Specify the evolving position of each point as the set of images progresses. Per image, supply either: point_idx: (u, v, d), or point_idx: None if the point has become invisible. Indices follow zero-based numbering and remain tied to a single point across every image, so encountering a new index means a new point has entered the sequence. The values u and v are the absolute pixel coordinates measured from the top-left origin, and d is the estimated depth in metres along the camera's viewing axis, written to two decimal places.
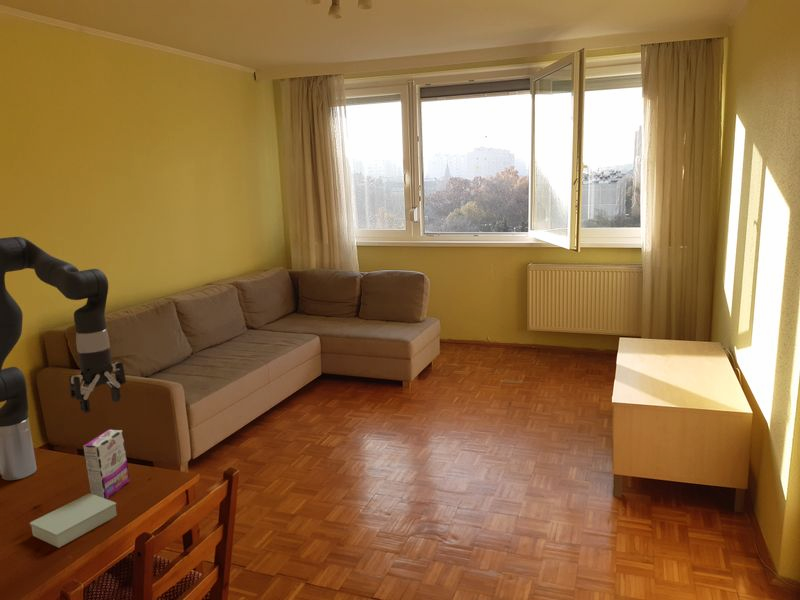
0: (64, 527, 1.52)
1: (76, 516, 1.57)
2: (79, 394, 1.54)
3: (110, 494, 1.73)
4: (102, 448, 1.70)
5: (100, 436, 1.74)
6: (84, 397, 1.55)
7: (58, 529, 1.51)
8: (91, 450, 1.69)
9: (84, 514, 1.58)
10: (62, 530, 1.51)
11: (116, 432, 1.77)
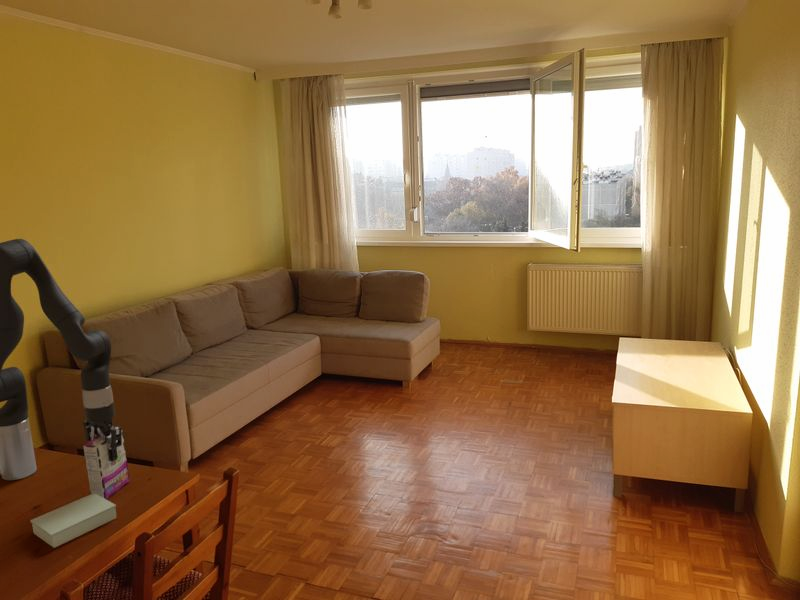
0: (60, 527, 1.52)
1: (75, 516, 1.57)
2: None
3: (110, 494, 1.73)
4: (102, 448, 1.70)
5: None
6: None
7: (54, 529, 1.51)
8: (91, 449, 1.68)
9: (83, 515, 1.57)
10: (58, 530, 1.51)
11: None
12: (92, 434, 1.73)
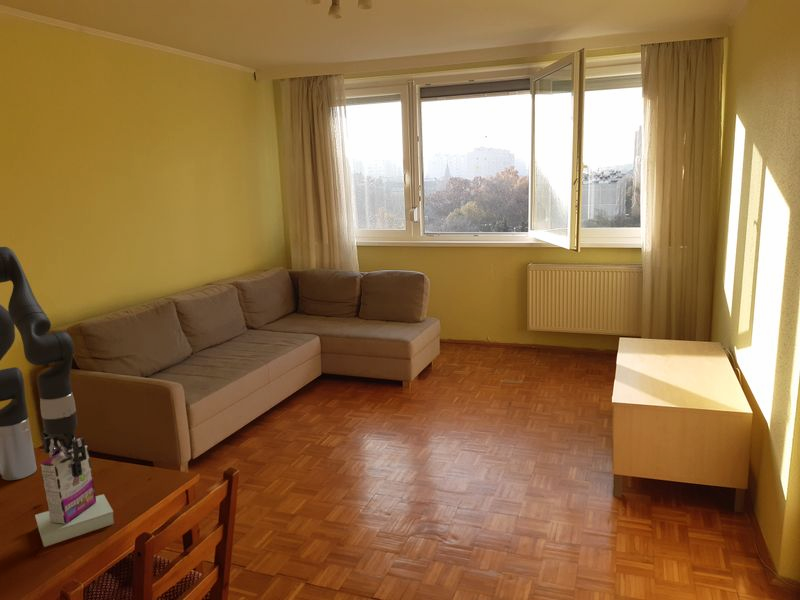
0: (53, 528, 1.52)
1: None
2: None
3: (72, 517, 1.55)
4: (61, 466, 1.52)
5: (61, 452, 1.57)
6: None
7: (47, 529, 1.52)
8: (48, 468, 1.51)
9: (79, 517, 1.56)
10: (49, 531, 1.51)
11: None
12: (51, 447, 1.55)
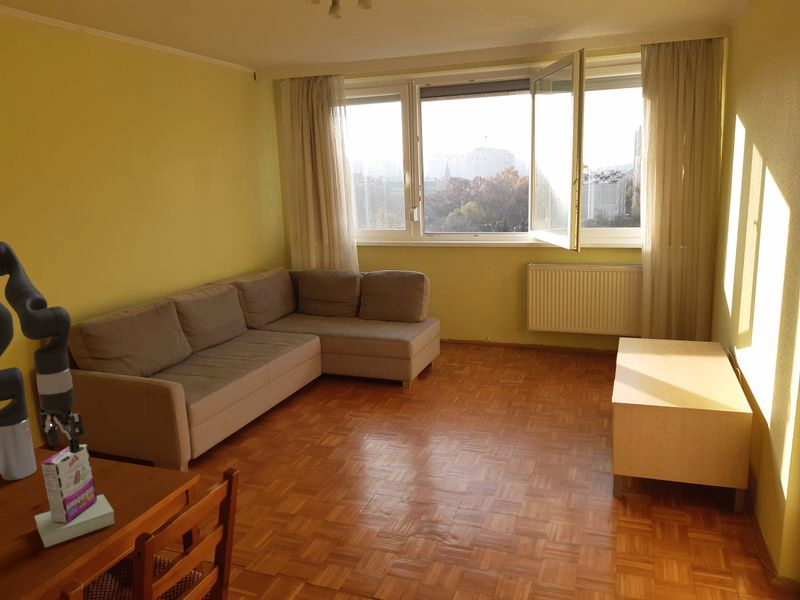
0: (54, 528, 1.52)
1: None
2: None
3: (73, 516, 1.56)
4: (62, 465, 1.52)
5: (61, 452, 1.57)
6: None
7: (48, 529, 1.52)
8: (49, 467, 1.51)
9: (80, 518, 1.56)
10: (50, 531, 1.51)
11: (80, 447, 1.59)
12: (47, 423, 1.53)
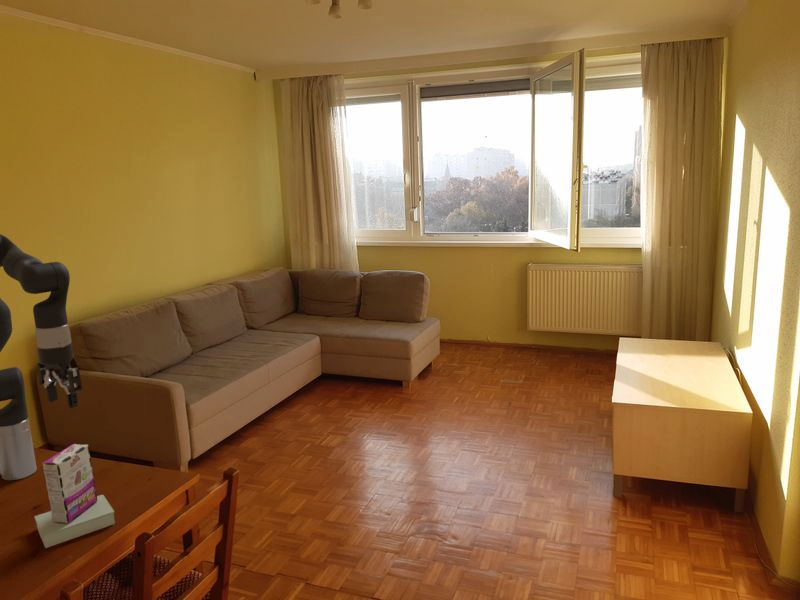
0: (54, 528, 1.52)
1: None
2: None
3: (74, 516, 1.55)
4: (63, 465, 1.52)
5: (62, 452, 1.57)
6: None
7: (48, 529, 1.51)
8: (51, 467, 1.51)
9: (80, 518, 1.56)
10: (50, 531, 1.50)
11: (81, 447, 1.59)
12: (46, 378, 1.55)
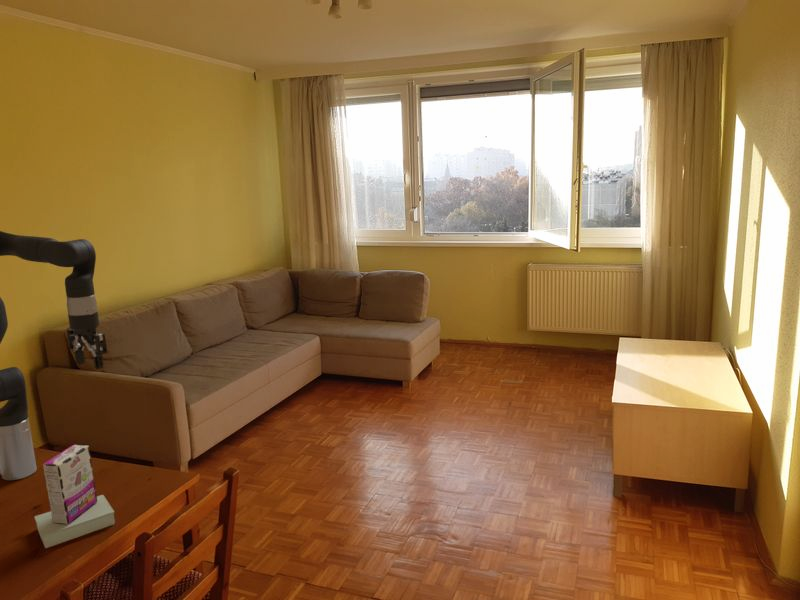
0: (54, 529, 1.52)
1: None
2: None
3: (74, 517, 1.55)
4: (64, 466, 1.52)
5: (63, 453, 1.56)
6: None
7: (48, 530, 1.51)
8: (51, 468, 1.50)
9: (80, 518, 1.56)
10: (50, 532, 1.50)
11: (81, 448, 1.59)
12: (75, 342, 1.74)
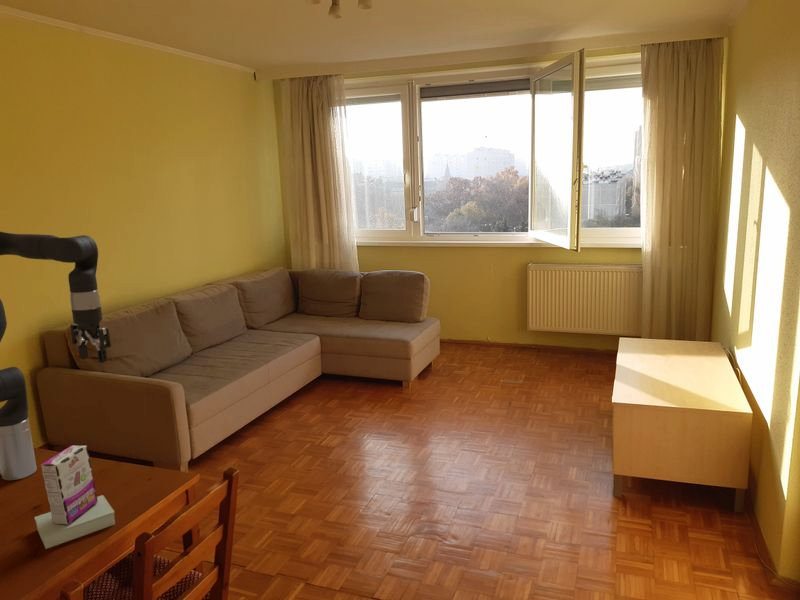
0: (54, 529, 1.51)
1: None
2: None
3: (74, 518, 1.55)
4: (62, 466, 1.51)
5: (61, 453, 1.56)
6: None
7: (48, 530, 1.51)
8: (49, 469, 1.50)
9: (80, 519, 1.56)
10: (50, 532, 1.50)
11: (79, 448, 1.58)
12: (79, 337, 1.77)
